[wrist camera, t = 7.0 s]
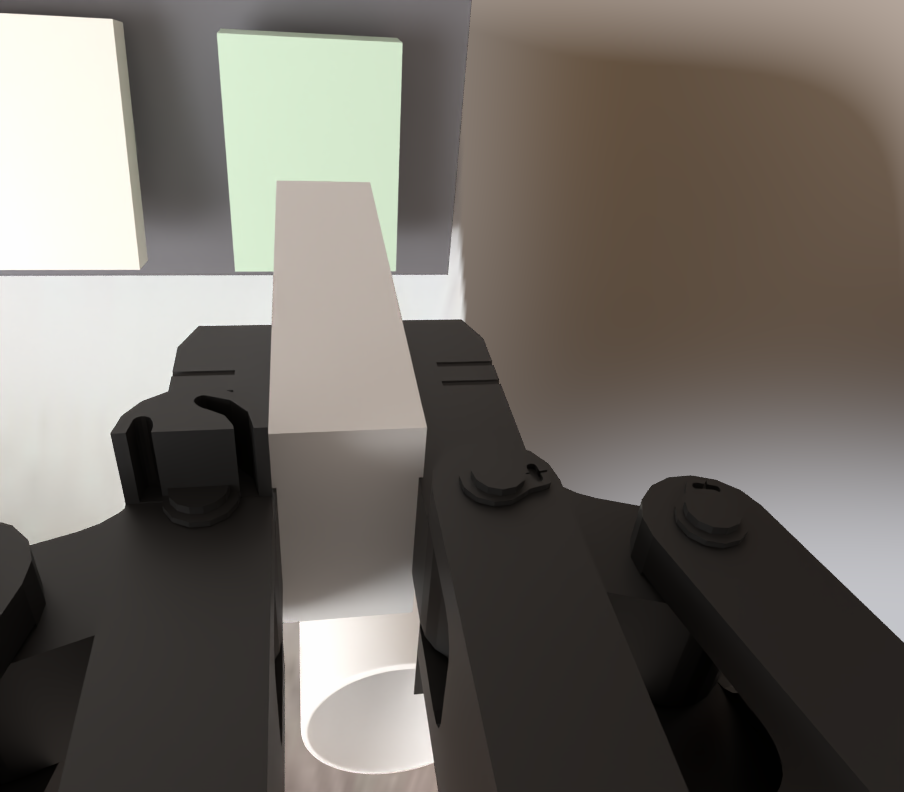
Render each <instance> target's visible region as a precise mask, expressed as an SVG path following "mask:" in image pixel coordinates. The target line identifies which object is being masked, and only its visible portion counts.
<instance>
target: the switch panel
mask: <svg viewBox="0 0 904 792" xmlns="http://www.w3.org/2000/svg"><path fill="white" fill-rule="evenodd" d="M471 1H472V0H0V13H9V14H28V15H46V16H65V17H84V18H102V19H114V20H117V21H120V22H123V29H124V38H125V48H126V57H127V67H128V76H129V86H130V95H131V105H132V114H133V124H134V133H135V143H136V152H137V162H138V171H139V181H140V190H141V200H142V209H143V219H144V228H145V238H146V247H147V257H148V261H147V262H146V263H145V264H144V266H143V267H142V268H141V269H140V270H0V276H84V275H273V272H235V264H234V251H233V238H232V225H231V212H230V199H229V186H228V173H227V160H226V147H225V134H224V121H223V108H222V95H221V82H220V69H219V56H218V43H217V32H218V31H219V30H220V29H239V30H258V31H277V32H296V33H315V34H334V35H353V36H372V37H391V38H398V39H399V40H400V41H401V42H402V43H403V46H402V80H401V114H400V148H399V182H398V216H397V250H396V271H391V274H392V275H448V267H449V256H450V244H451V232H452V221H453V209H454V198H455V186H456V175H457V163H458V151H459V140H460V128H461V117H462V105H463V93H464V82H465V70H466V58H467V47H468V35H469V24H470V12H471Z"/></svg>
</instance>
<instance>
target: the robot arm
mask: <svg viewBox="0 0 904 792" xmlns="http://www.w3.org/2000/svg"><path fill="white" fill-rule="evenodd" d="M111 438H112V443H113V448H114V452H115V457H116V461H117V466H118V471H119V475H120V480H121V484H122V489H123V493H124V498H125V503H126V506H125V509H124V510H122V511H121V512H120V513H118V514H117V515H115V516H113V517H111V518H109V519H107V520H106V521H104V522H102V523H100V524H98V525H95V526H92V527H90V528H87V529H84V530H81V531H79V532H76V533H72V534H69V535H65V536H62V537H58V538H55V539H51V540H48V541H44V542H41V543H37V544H33V545H29V542H28V540H27V539H26V538H25V537H24V536H23V535H22V534H21V533H20V532H19V531H17V530H16V529H15V528H14V527H13V526H11V525H8V524H4V523H1V522H0V792H284V763H285V665H284V651H283V623H290V622H302V621H314V620H326V619H338V618H349V617H361V616H373V615H385V614H397V613H409V612H413V600H414V589H415V595H416V601H417V607H418V613H419V619H420V626H419V637H418V649H417V660H416V672H415V684H414V695H415V694H424V700H425V707H426V713H427V720H428V727H429V733H430V740H431V746H432V753H433V759H434V766H435V772H436V779H437V785H438V792H904V642H902V641H901V640H900V639H899V638H898V637H897V636H896V635H895V634H894V633H893V632H892V631H891V630H890V629H889V628H888V627H887V626H886V625H885V624H883V622H882V621H881V620H880V619H879V618H877V616H875V615H874V614H873V613H872V612H871V611H870V610H869V609H868V608H867V607H866V606H865V605H864V604H863V603H862V602H861V601H860V600H859V599H858V598H857V597H856V596H855V595H853V593H851V591H850V590H849V589H847V588H846V587H845V586H844V585H843V584H842V583H841V582H840V581H839V580H838V579H837V578H836V577H835V576H834V575H833V574H832V573H831V572H830V571H829V570H828V569H827V568H826V567H825V566H823V565H822V564H821V563H820V562H819V561H818V560H817V559H816V558H815V557H814V556H813V555H812V554H811V553H810V552H809V551H808V550H807V549H806V548H805V547H804V546H803V545H802V544H801V543H800V542H799V541H798V540H797V539H796V538H795V537H793V536H792V535H791V534H790V533H789V532H788V531H787V530H786V529H785V528H784V527H783V526H782V525H781V524H780V523H779V522H778V521H777V520H776V519H775V518H774V517H773V516H772V515H771V514H770V513H768V511H767V510H765V509H764V508H763V507H762V506H761V505H760V504H759V503H757V502H756V501H754V500H753V499H752V498H750V497H749V496H748V495H746V494H745V493H744V492H742V491H741V490H739V489H736V488H734V487H732V486H729V485H727V484H724V483H722V482H720V481H718V480H714V479H708V478H703V477H697V476H680V477H669V478H666V479H664V480H662V481H660V482H658V483H656V484H654V485H652V486H651V487H650V488H649V490H648V491H647V493H646V494H645V496H644V498H643V499H642V502H641V505H640V506H637V505H631V504H625V503H620V502H614V501H609V500H603V499H598V498H594V497H590V496H586V495H582V494H579V493H576V492H573V491H571V490H569V489H566V488H564V487H563V486H562V484H561V481H560V479H559V478H558V477H557V475H556V474H555V472H554V471H553V469H552V468H551V467H550V465H549V464H548V463H547V462H545V461H544V460H542V459H541V458H539V457H538V456H536V455H535V454H534V453H532V452H531V451H527V450H526V449H525V446H524V444H523V441H522V438H521V436H520V433H519V431H518V428H517V425H516V423H515V420H514V417H513V415H512V412H511V410H510V407H509V404H508V402H507V399H506V397H505V394H504V391H503V389H502V386H501V384H499V378H498V376H497V373H496V370H495V368H494V365H492V360H491V357H490V355H489V352H488V350H487V347H486V344H485V342H484V339H483V338H482V337H481V336H480V335H479V334H477V333H476V332H475V331H474V330H473V329H472V328H470V327H469V326H468V325H467V324H466V323H465V322H464V321H462V320H402V318H401V313H400V309H399V305H398V300H397V296H396V292H395V287H394V283H393V279H392V274H391V270H390V266H389V262H388V257H387V253H386V249H385V244H384V240H383V236H382V231H381V227H380V223H379V218H378V214H377V210H376V205H375V201H374V197H373V193H372V188H371V184H370V182H332V181H276V211H275V241H274V271H273V302H272V325H241V326H198V327H197V328H196V329H195V330H194V331H193V332H192V333H191V334H190V335H189V337H188V338H187V339H186V340H185V341H184V342H183V343H182V344H181V345H180V346H179V347H178V349H177V353H176V358H175V363H174V367H173V377H171V382H170V386H169V391H168V392H166V393H163V394H160V395H158V396H155V397H152V398H149V399H147V400H144V401H142V402H140V403H139V404H138V405H136V406H135V407H133V408H132V409H131V410H129V411H128V412H126V413H125V414H124V415H122V416H121V418H120V419H119V421H118V422H117V424H116V426H115V427H114V429H113V430H112V432H111Z"/></svg>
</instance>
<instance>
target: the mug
mask: <svg viewBox="0 0 904 792" xmlns="http://www.w3.org/2000/svg"><path fill="white" fill-rule="evenodd" d="M419 626H420V619H419V613H418V607H417V601H416V595H415V589H414V600H413V612H409V613H397V614H385V615H373V616H361V617H349V618H338V619H326V620H314V621H302V622H299V630H300V711H301V735H302V740H303V742H304V745H305V746H306V748H307V749H308V751H309V752H310V753H311V754H312V755H313V756H314V757H315V758H317V759H318V760H319V761H321V762H323V763H325V764H327V765H329V766H331V767H334V768H337V769H340V770H344V771H348V772H354V773H362V774H388V773H397V772H403V771H408V770H413V769H417V768H421V767H424V766H427V765H430V764H433V763H434V759H433V753H432V746H431V740H430V733H429V727H428V720H427V713H426V707H425V700H424V694H415V695H414V684H415V672H416V660H417V649H418V637H419Z"/></svg>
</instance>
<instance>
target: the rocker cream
mask: <svg viewBox="0 0 904 792" xmlns="http://www.w3.org/2000/svg"><path fill="white" fill-rule="evenodd" d="M147 261H148V257H147V247H146V238H145V228H144V219H143V209H142V200H141V190H140V181H139V171H138V162H137V152H136V143H135V133H134V124H133V114H132V105H131V95H130V86H129V76H128V67H127V57H126V48H125V38H124V29H123V22H120V21H117V20H114V19H102V18H84V17H65V16H46V15H28V14H9V13H0V270H140V269H141V268H142V267H143V266H144V264H145V263H146V262H147Z"/></svg>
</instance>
